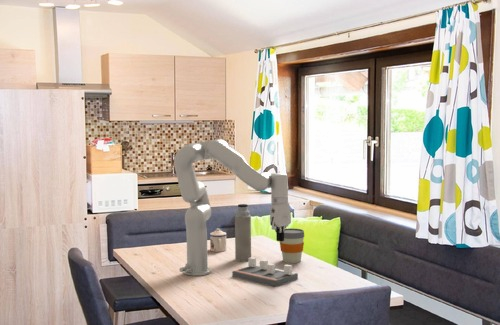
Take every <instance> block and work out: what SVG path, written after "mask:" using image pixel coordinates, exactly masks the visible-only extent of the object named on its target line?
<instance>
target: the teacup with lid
mask: <svg viewBox="0 0 500 325" xmlns="http://www.w3.org/2000/svg"><path fill="white" fill-rule="evenodd" d="M227 235H228V234H227V232H225V231H223V230H221V229H220V228H216V230H214V231H212V232H210V233H209V236H210V237H209V240H210V241H209V242H210V245H209V248H210V251H211V252H215V253H221V252H225V251H227Z"/></svg>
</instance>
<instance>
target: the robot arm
mask: <svg viewBox="0 0 500 325" xmlns="http://www.w3.org/2000/svg"><path fill="white" fill-rule="evenodd" d="M209 159H212V160H214V161H216V162H217V163H219V164H220V165H222V166H223V167H225V168H226V169H227V170H229V171H231V172H232V174H233V175H235V176H236V177H237V178H238V179H239V180H240V181H242V182H243V183H244V184H245V185H248V186H249V187H250V188H252V189H254V190H256V191H258V192H263V191H265V190H267V189H271V190H270V192H271V193H270V195H271V198H270V199H271V205H270V210H269V224H270V226H271V230H274V232H275V233H276V234H275V235H276V238H275V239H276V242H280V241H281V242H282V241H284V232H285V229H287V227H289V225H291V223H292V214H291V206H290V203H289V183H288V182H289V180H288V179H289V177H288V174H287V173H284V172H276V173H274V172H273V173H272V172H265V171H264V172H262V171H261V172H259V171H257V170H256V169H255V168H253V167H252V166H251V165H250V164H249V163H248V162H247V160H246V159H245V157H244V156H243V155H242V154H240V153H239V152H237V150H235V149H233V148H232V147H230V146H229V144H228V142H227V141H226V140H224V139H222V138H215V139H211V140H205V141H198V142H193V143H188V144H186V145H184V146H182V147H180V149H179V150H178V151H177V152H176V154H175V157H174V161H173V164H174V170H175V174H176V177H177V183H178V186H179V191H180V195H181V197H182V199H183V201H184V203H187V204H189V205H190V207H189V208H187V210H186V212H185V214H184V224H185V230H186V231H185V232H186V237H185V238H186V263H185V266H182V267H180V268H179V269H178V270H179V272H180V273H183V274H184V275H187V276H196V277H197V276H206V275H209V274H211V272H212V269H211V268H210V267H208V263H209V262H208V232H207V231H208V229H207V221H208V220H210V219H211V216H212V207H211V202H210V198H209V196H208V192H207V191H208V190H207V189H206V186H205V184H204V183H203V182H202V181H200V180H198V179H197V175H196V171H195V169H194V166H193V164H194V163H195V162H198V161H203V160H209Z"/></svg>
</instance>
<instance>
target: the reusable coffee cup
mask: <svg viewBox="0 0 500 325" xmlns="http://www.w3.org/2000/svg"><path fill="white" fill-rule="evenodd" d="M304 238H305V230H304V229H302V228H294V227H293V228H285V232H284V241H282V242H281V241H279V246H280V252H281V256H282V261H283V262H285V263H290V264H291V263H300V262H302V261H301V260H302V255H303V251H304V245H305V244H304V243H305V242H304Z"/></svg>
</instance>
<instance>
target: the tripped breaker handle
mask: <svg viewBox="0 0 500 325" xmlns="http://www.w3.org/2000/svg"><path fill="white" fill-rule="evenodd" d="M275 269H276V265H275V264H274V263H268V264H267V273H271V274H273V273H275Z"/></svg>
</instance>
